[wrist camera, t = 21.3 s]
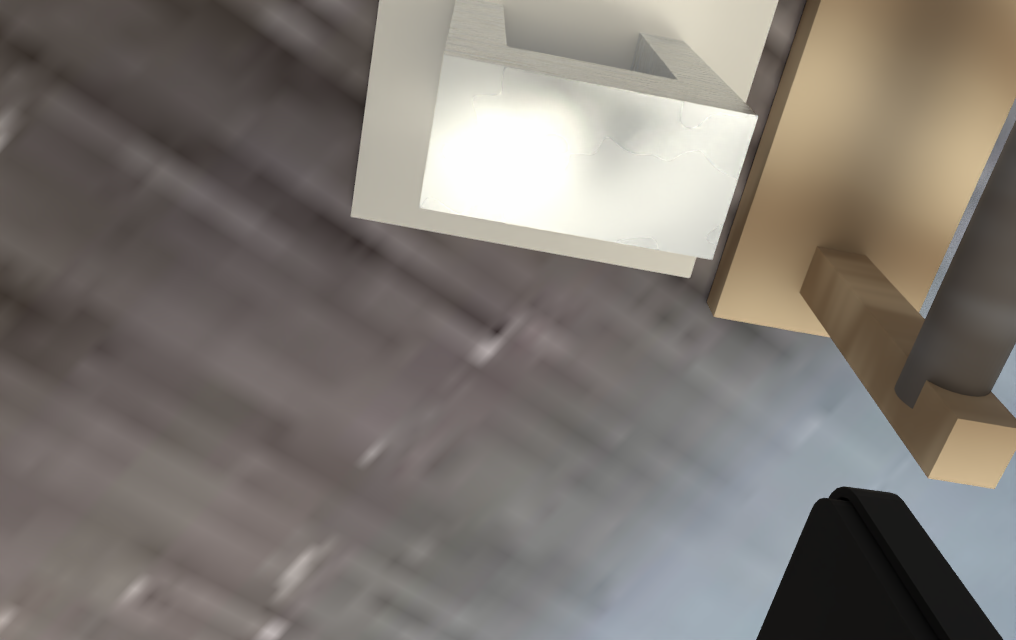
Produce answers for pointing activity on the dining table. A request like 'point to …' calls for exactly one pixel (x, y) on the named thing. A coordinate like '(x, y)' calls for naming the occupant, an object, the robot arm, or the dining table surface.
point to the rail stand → (892, 216)
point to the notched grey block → (584, 139)
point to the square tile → (545, 29)
